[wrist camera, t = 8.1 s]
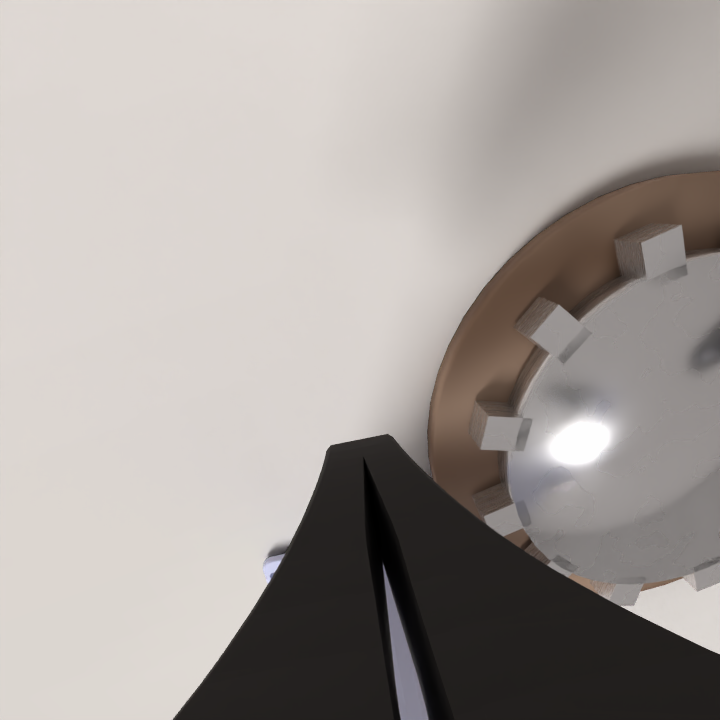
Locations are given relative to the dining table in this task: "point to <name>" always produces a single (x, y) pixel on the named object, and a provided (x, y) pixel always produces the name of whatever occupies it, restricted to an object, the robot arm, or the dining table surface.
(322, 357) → the dining table surface
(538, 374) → the sprocket
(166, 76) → the dining table surface
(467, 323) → the sprocket base
